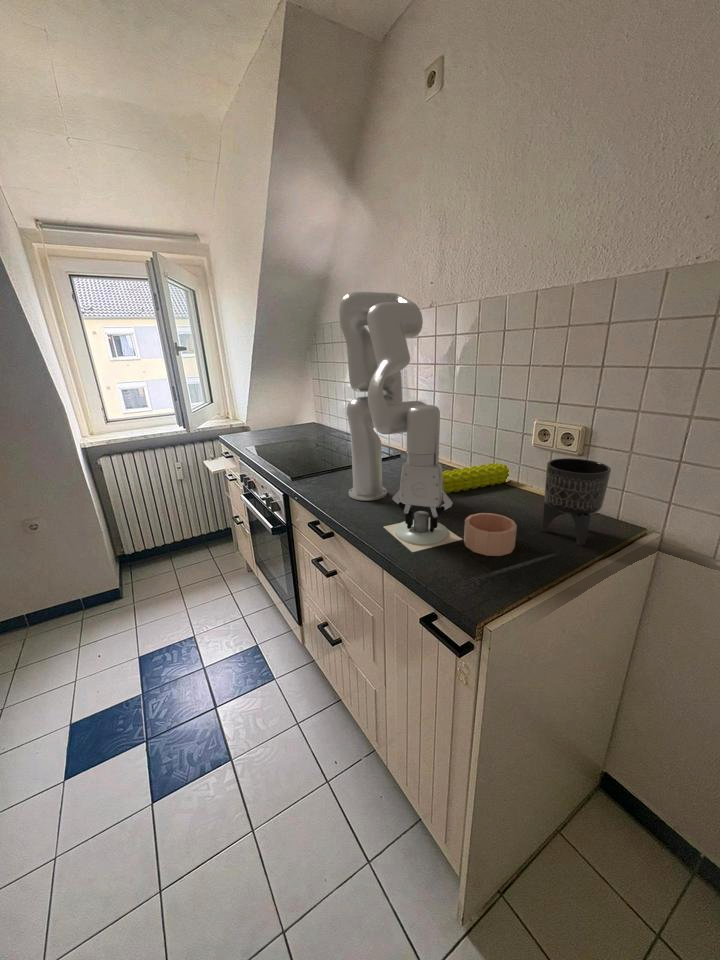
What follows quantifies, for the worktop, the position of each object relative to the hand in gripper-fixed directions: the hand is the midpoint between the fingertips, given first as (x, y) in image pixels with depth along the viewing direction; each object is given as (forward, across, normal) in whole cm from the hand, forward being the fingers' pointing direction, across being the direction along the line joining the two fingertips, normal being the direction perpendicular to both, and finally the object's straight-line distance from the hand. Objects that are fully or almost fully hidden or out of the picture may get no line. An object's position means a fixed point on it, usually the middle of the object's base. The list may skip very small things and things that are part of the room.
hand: (421, 527), depth 94 cm
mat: (+2, 0, 0) cm, 2 cm away
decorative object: (+2, +7, +40) cm, 40 cm away
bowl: (+2, +16, -1) cm, 16 cm away
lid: (+2, 0, 0) cm, 2 cm away
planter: (+2, +34, +11) cm, 36 cm away
